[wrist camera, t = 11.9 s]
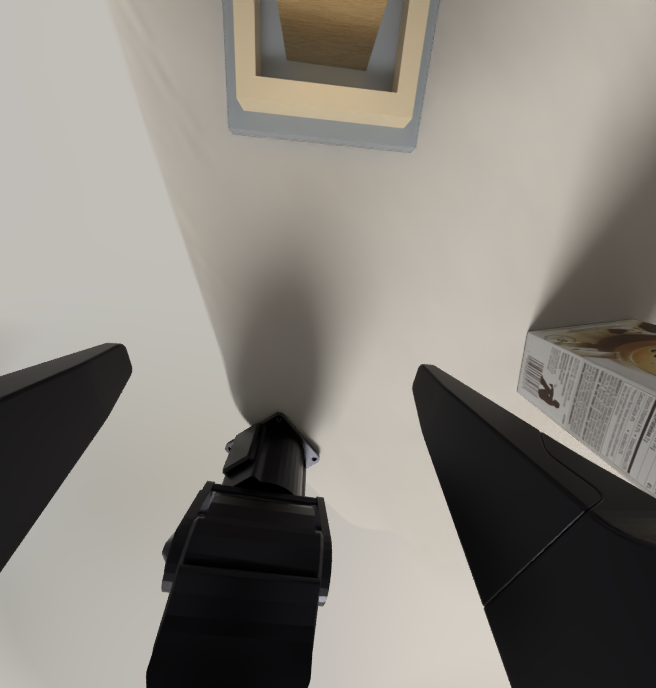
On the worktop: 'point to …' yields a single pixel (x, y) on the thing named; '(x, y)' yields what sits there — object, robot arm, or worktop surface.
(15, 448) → the robot arm
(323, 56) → the brown wooden block
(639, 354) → the coffee box
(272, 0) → the dock
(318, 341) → the worktop surface
